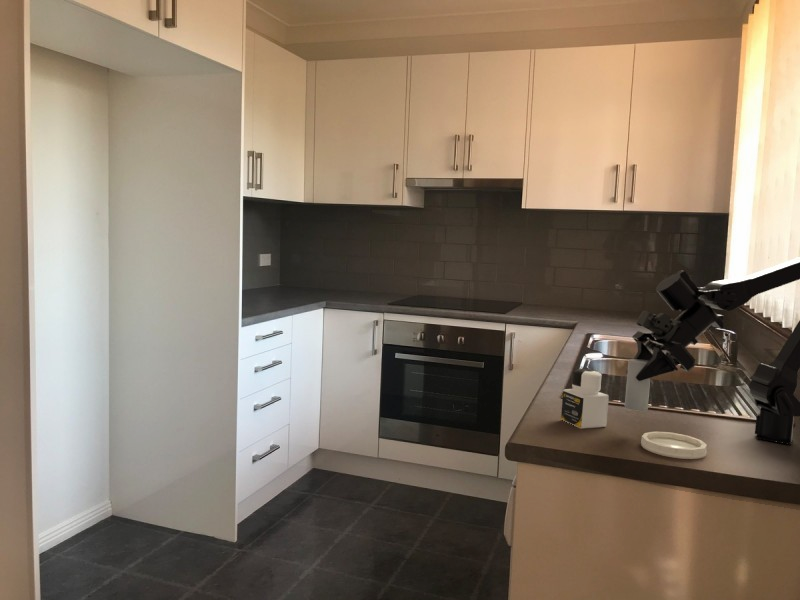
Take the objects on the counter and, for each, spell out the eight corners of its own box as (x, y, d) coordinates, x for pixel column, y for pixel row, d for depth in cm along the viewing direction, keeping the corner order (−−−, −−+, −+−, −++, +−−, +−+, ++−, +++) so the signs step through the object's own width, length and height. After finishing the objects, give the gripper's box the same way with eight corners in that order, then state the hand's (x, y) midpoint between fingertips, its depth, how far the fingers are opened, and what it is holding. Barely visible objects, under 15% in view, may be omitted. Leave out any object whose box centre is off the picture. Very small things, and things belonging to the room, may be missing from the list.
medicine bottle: (560, 420, 151) (564, 367, 150) (585, 418, 153) (590, 366, 152) (580, 429, 144) (584, 374, 143) (606, 427, 147) (611, 373, 146)
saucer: (710, 448, 135) (711, 439, 135) (700, 463, 125) (701, 454, 125) (648, 436, 141) (649, 428, 141) (634, 449, 131) (635, 440, 131)
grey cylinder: (649, 407, 143) (653, 361, 142) (644, 411, 139) (648, 364, 138) (627, 403, 145) (631, 358, 144) (622, 407, 141) (626, 360, 140)
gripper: (644, 294, 149) (592, 342, 150) (685, 303, 131) (625, 357, 131) (675, 331, 151) (623, 378, 151) (720, 344, 132) (661, 397, 132)
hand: (632, 376), depth 141 cm, fingers closed on grey cylinder, 5 cm apart
